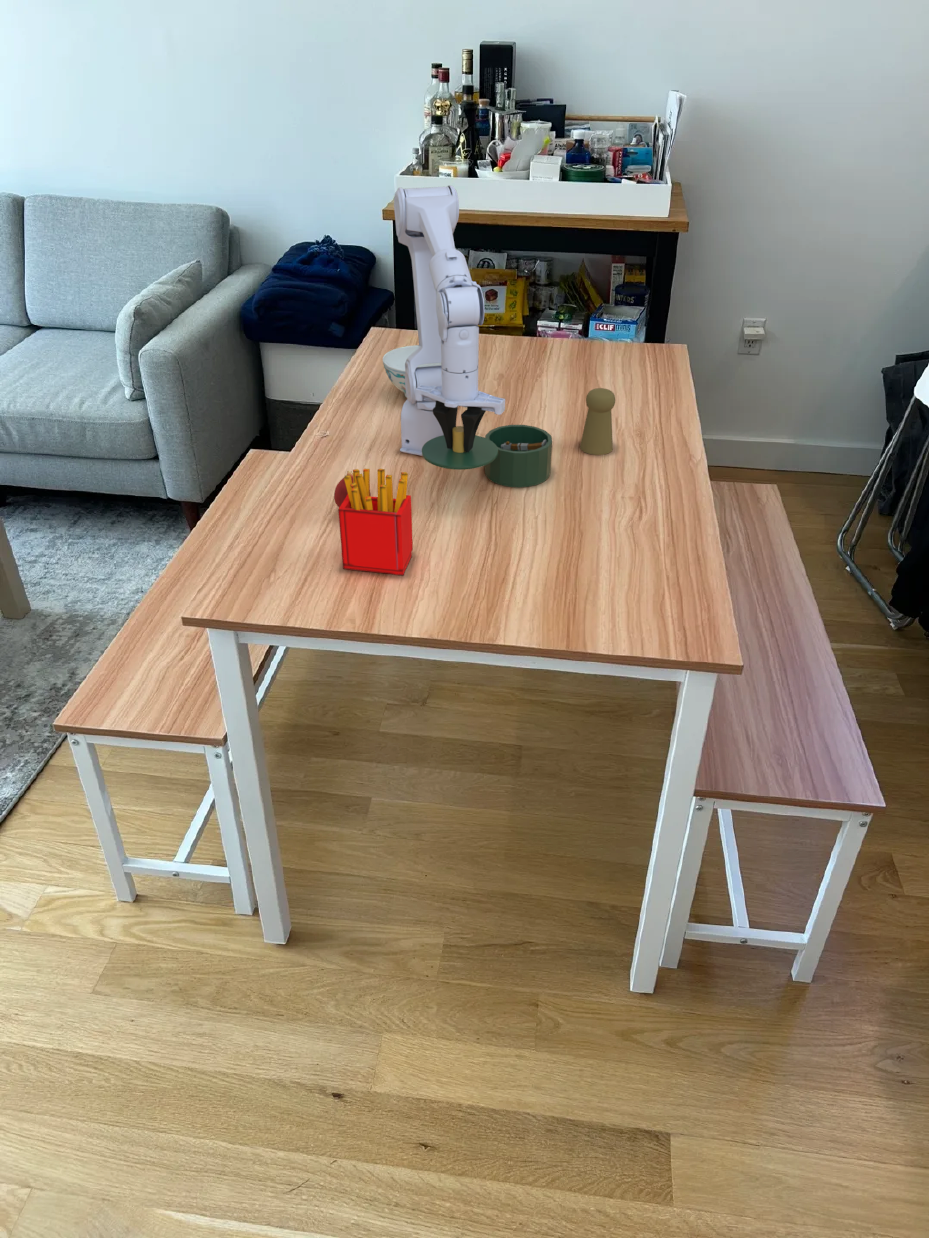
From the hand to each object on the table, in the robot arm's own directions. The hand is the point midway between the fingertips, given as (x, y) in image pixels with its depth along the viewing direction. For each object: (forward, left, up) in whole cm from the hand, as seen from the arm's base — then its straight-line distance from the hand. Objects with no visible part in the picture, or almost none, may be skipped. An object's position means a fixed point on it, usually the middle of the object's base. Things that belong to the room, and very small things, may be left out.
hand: (459, 447), depth 156 cm
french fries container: (-3, -24, -9) cm, 26 cm away
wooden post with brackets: (+8, +12, -6) cm, 16 cm away
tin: (+6, +12, -9) cm, 16 cm away
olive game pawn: (+16, +27, -9) cm, 33 cm away
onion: (-13, -13, -9) cm, 20 cm away
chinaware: (-24, +37, -8) cm, 45 cm away
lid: (0, 0, -1) cm, 1 cm away
